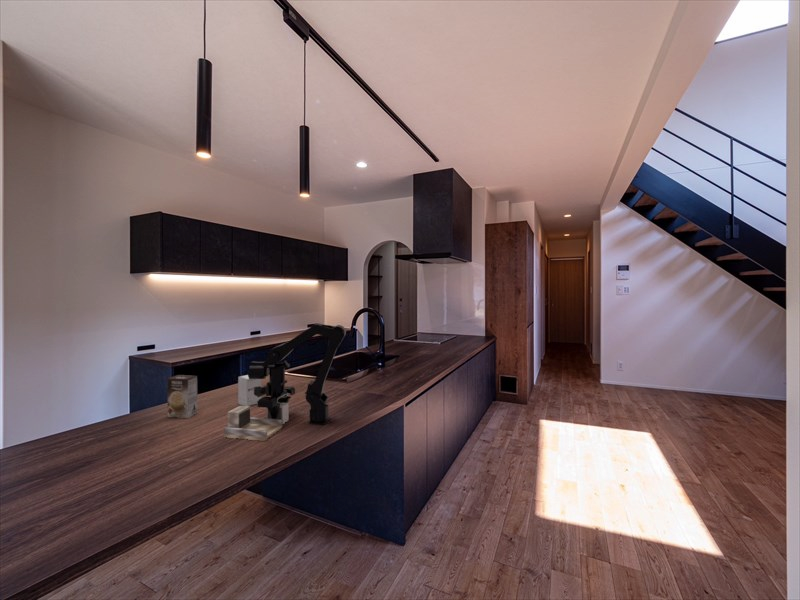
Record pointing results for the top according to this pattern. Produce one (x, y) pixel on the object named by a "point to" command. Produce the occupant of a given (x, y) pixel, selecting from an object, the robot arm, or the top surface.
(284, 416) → the block
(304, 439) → the top surface
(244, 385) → the supplement box
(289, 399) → the robot arm
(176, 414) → the coffee box
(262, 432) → the beige clamp block
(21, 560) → the top surface
